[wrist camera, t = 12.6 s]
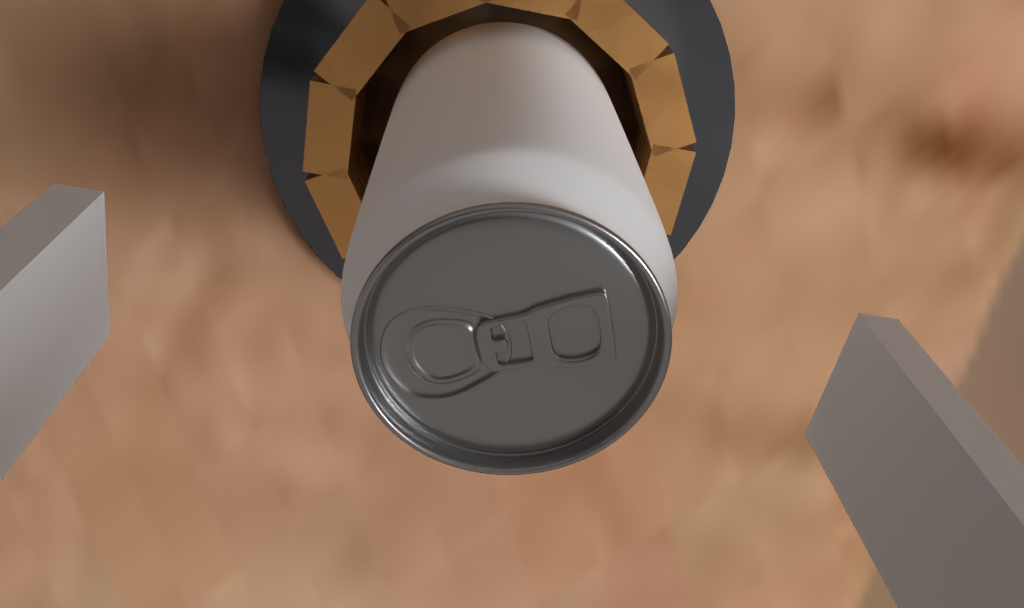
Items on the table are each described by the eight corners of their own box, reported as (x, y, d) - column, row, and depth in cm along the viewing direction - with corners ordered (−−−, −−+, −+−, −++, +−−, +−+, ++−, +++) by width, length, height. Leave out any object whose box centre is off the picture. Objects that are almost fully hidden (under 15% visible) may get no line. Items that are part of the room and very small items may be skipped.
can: (367, 41, 24) (273, 218, 14) (596, -4, 23) (682, 144, 13) (421, 245, 27) (378, 516, 17) (624, 210, 27) (710, 464, 16)
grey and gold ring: (256, 286, 29) (227, 340, 26) (283, -183, 22) (250, -187, 19) (656, 350, 30) (675, 407, 27) (792, -73, 24) (836, -60, 21)
